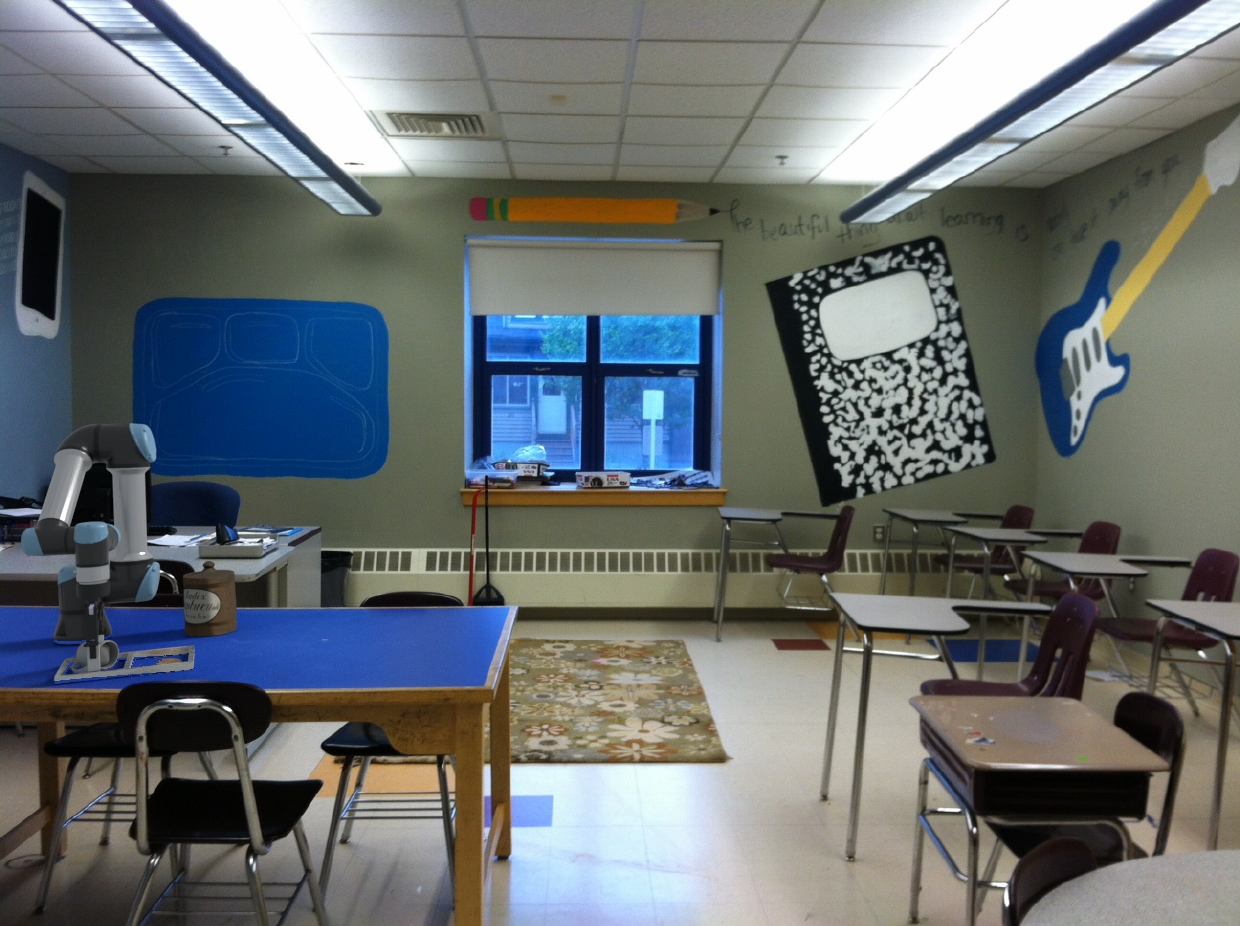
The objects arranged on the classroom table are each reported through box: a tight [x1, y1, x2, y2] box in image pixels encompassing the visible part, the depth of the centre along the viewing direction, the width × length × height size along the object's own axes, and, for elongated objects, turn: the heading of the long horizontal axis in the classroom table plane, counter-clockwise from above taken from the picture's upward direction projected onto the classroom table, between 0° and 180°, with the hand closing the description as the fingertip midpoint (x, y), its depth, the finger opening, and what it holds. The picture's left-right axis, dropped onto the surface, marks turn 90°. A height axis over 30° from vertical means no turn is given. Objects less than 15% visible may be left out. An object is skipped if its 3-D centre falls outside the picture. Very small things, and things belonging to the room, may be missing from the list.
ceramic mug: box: [70, 639, 120, 674], centre depth 232 cm, size 10×8×7 cm
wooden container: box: [182, 560, 238, 638], centre depth 275 cm, size 15×15×22 cm
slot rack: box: [53, 644, 196, 681], centre depth 236 cm, size 19×31×2 cm, turn 115°
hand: (96, 664), depth 233 cm, fingers closed on ceramic mug, 10 cm apart
